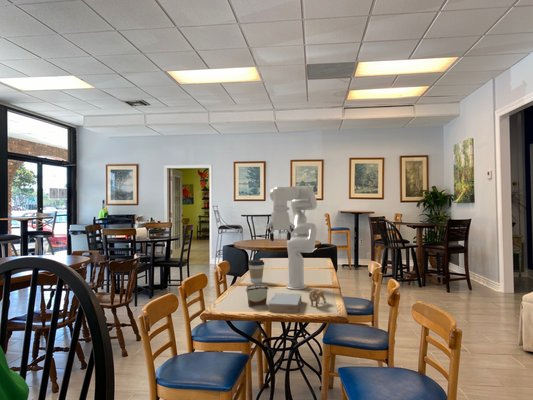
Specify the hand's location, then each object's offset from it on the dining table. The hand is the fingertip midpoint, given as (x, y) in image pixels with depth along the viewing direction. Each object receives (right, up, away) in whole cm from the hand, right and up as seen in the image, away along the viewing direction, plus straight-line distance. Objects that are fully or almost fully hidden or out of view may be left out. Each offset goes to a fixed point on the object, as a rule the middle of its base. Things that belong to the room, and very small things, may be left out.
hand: (280, 240), depth 189 cm
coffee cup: (-14, -34, +43) cm, 56 cm away
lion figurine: (+19, -32, -12) cm, 39 cm away
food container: (-13, -33, -9) cm, 36 cm away
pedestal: (+2, -32, -13) cm, 35 cm away
